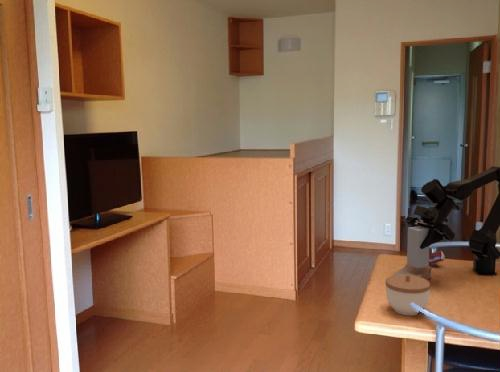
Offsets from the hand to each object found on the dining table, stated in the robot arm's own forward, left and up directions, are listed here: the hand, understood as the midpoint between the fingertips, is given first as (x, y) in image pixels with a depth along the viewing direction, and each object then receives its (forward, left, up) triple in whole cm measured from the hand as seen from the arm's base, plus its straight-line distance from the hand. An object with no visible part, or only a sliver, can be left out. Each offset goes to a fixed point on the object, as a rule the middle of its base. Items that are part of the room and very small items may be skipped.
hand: (415, 246), depth 161 cm
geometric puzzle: (-13, -21, -14) cm, 28 cm away
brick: (0, -3, -14) cm, 14 cm away
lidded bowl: (+8, +24, -14) cm, 29 cm away
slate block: (-1, -1, -7) cm, 7 cm away
